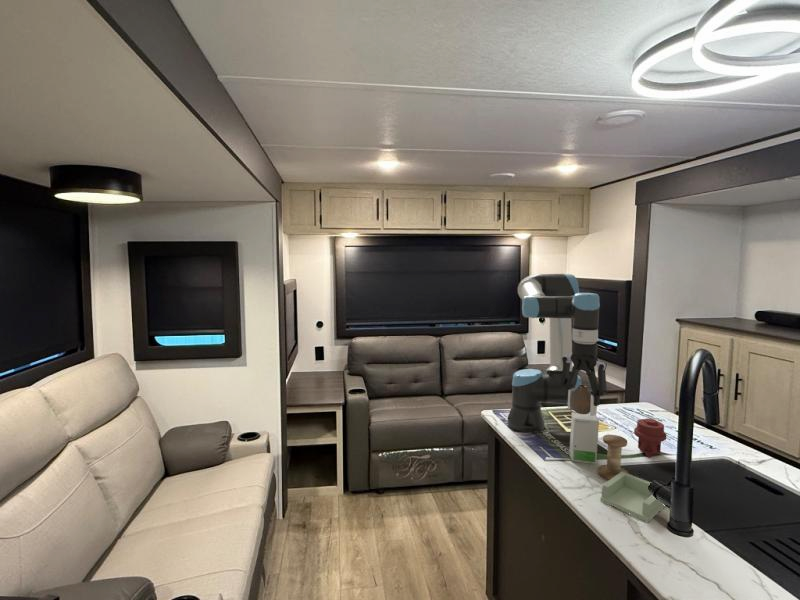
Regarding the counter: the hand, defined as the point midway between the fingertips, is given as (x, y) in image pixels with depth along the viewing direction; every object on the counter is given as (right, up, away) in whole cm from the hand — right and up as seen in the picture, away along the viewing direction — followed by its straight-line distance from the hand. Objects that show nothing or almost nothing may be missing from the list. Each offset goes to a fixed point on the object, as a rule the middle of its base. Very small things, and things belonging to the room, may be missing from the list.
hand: (581, 411), depth 138 cm
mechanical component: (+31, -19, +16) cm, 40 cm away
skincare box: (+6, -20, +12) cm, 24 cm away
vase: (0, 0, 0) cm, 0 cm away
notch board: (+9, -23, -14) cm, 28 cm away
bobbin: (+11, -21, +1) cm, 24 cm away
